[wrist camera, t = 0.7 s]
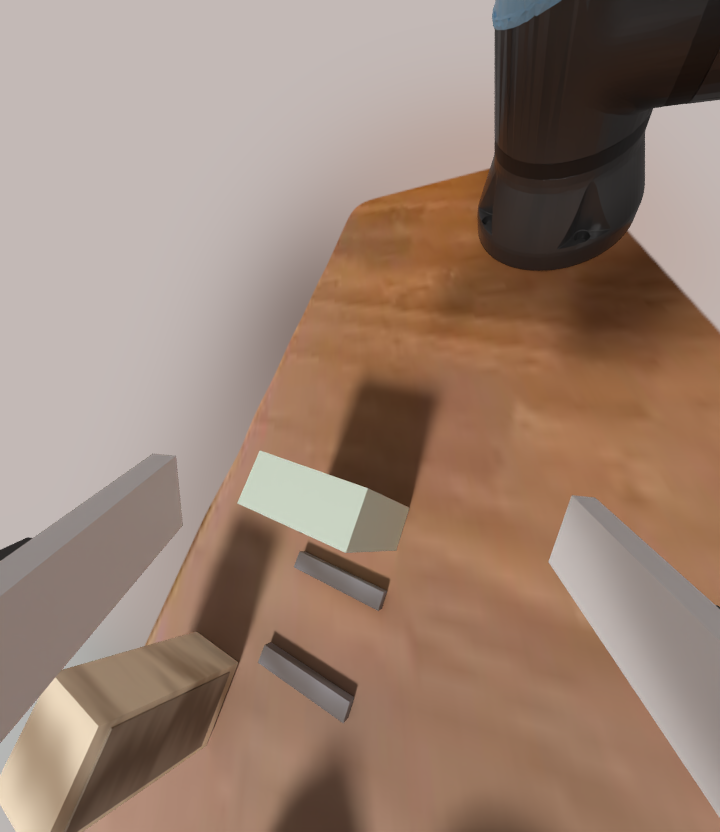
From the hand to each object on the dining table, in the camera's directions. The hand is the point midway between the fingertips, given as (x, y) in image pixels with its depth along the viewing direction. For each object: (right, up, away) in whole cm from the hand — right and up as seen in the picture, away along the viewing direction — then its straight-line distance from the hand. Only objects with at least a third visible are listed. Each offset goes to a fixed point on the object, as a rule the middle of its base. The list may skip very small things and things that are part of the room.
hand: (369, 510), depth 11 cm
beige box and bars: (-9, -19, +20) cm, 29 cm away
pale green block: (0, -6, +22) cm, 23 cm away
